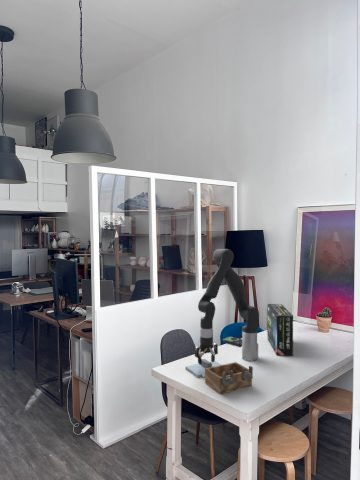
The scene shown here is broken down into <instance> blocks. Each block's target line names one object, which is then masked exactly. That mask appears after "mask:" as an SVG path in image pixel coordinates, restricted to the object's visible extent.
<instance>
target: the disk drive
mask: <svg viewBox="0 0 360 480" xmlns="http://www.w3.org/2000/svg"><path fill="white" fill-rule="evenodd" d="M221 342H222V343H224V344H227V345H232V346H235V347H238V348H239V347H242V338H238V337H234V336H226V337H225V338H222V340H221Z"/></svg>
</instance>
